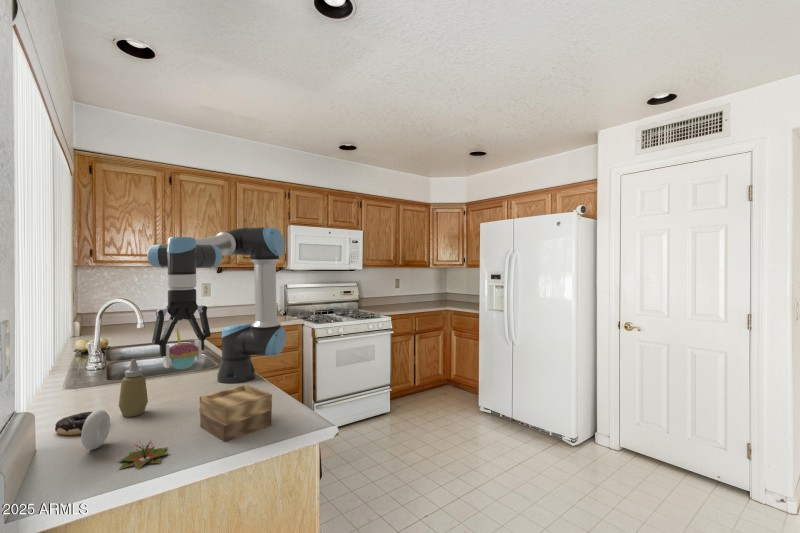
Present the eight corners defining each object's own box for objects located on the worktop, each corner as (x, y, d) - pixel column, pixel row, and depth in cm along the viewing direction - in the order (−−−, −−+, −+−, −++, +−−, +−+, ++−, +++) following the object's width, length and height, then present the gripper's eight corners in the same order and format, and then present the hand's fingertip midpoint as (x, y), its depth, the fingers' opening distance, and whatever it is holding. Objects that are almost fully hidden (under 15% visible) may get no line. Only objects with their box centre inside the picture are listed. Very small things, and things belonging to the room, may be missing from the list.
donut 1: (92, 435, 115) (92, 422, 115) (45, 439, 112) (45, 424, 112) (112, 420, 126) (112, 408, 125) (68, 423, 123) (69, 410, 123)
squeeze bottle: (115, 414, 130) (115, 359, 130) (144, 407, 136) (144, 355, 136) (121, 420, 125) (122, 363, 125) (151, 413, 131) (151, 359, 131)
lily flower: (166, 468, 98) (166, 449, 98) (108, 476, 94) (108, 456, 94) (175, 446, 109) (175, 429, 109) (124, 452, 105) (124, 435, 105)
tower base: (246, 414, 132) (246, 399, 132) (271, 427, 123) (271, 411, 122) (200, 428, 121) (200, 412, 121) (223, 443, 111) (223, 426, 111)
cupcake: (184, 371, 114) (184, 330, 114) (159, 369, 116) (158, 328, 116) (204, 363, 123) (204, 325, 122) (180, 362, 124) (180, 324, 124)
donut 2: (93, 456, 102) (93, 417, 102) (77, 457, 102) (78, 418, 101) (112, 439, 112) (112, 403, 112) (98, 440, 111) (98, 404, 111)
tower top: (245, 399, 132) (245, 384, 132) (271, 410, 123) (271, 394, 123) (199, 412, 120) (199, 396, 120) (225, 425, 111) (225, 408, 111)
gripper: (212, 286, 129) (212, 355, 130) (137, 289, 113) (138, 368, 114) (222, 287, 124) (223, 359, 125) (146, 291, 108) (147, 374, 109)
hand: (182, 363), depth 119 cm, fingers closed on cupcake, 8 cm apart
